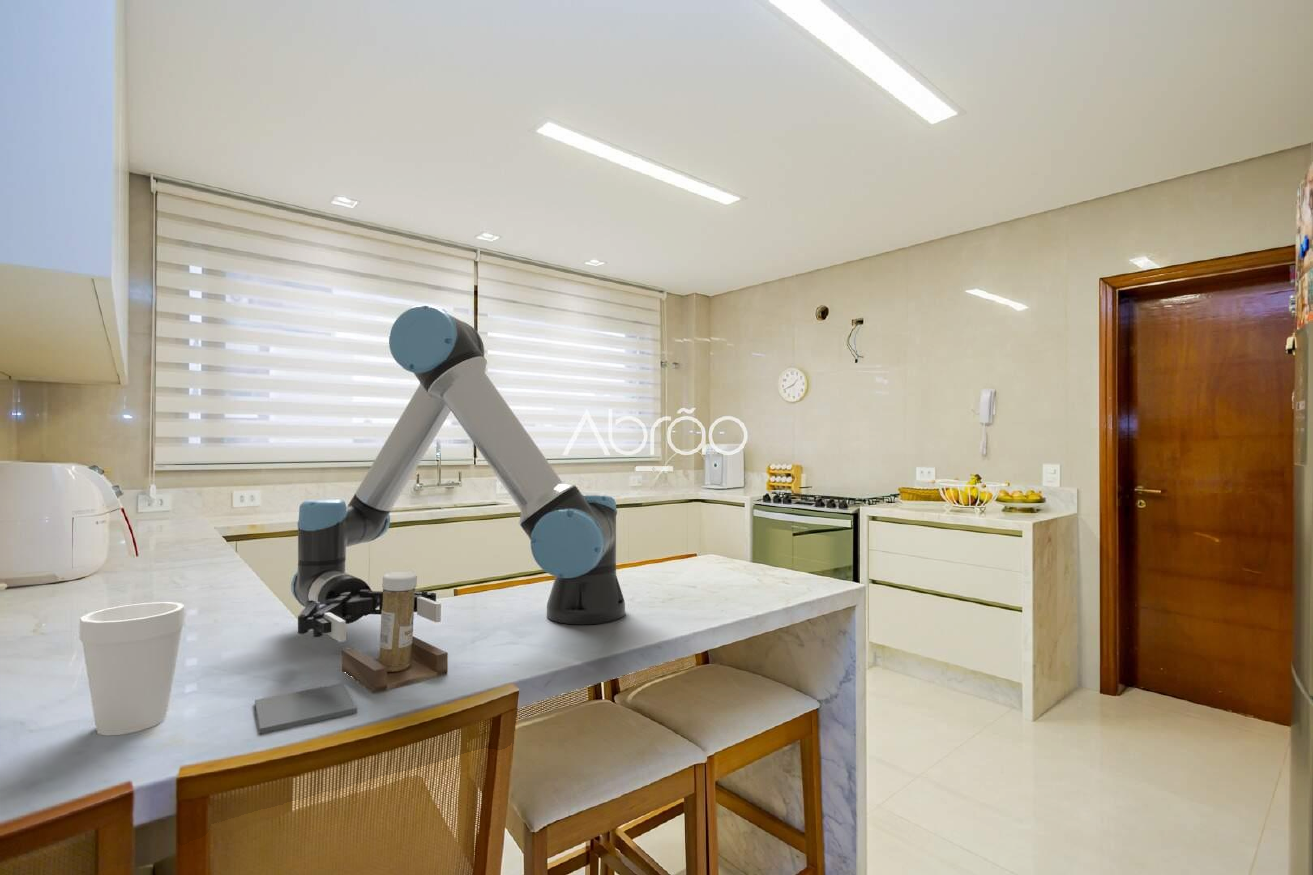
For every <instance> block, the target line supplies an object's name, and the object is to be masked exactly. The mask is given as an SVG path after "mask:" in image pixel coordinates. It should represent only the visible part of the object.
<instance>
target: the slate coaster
mask: <svg viewBox="0 0 1313 875" xmlns="http://www.w3.org/2000/svg"><path fill="white" fill-rule="evenodd" d="M254 705H255V706H254V707H255V713H256V719H257V724H258V730H259V735H261V734H267V733H270V732H276V731H280V730H286V729H289V728H292V727H293V728H294V727H299V726H303V725H306V724H307V725H308V724H312V723H315V722H316V723H317V722H320V721H321V722H322V721H325V719H326V720H330V719H334V718H339V717H343V716H348V715H353V714H357V713H358V707H357V705H356V704H355V702H354V700H353V697H351V695H350V693H349V691H348V689H347V687H346V686H345V684H344V682H341V683H335V684H330V685H324V686H320V687H319V686H318V687H314V688H309V689H305V690H304V689H303V690H299V691H294V692H288V693H283V694H280V695H279V694H278V695H274V696H273V695H272V696H268V697H263V698H258V699H254Z"/></svg>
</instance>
